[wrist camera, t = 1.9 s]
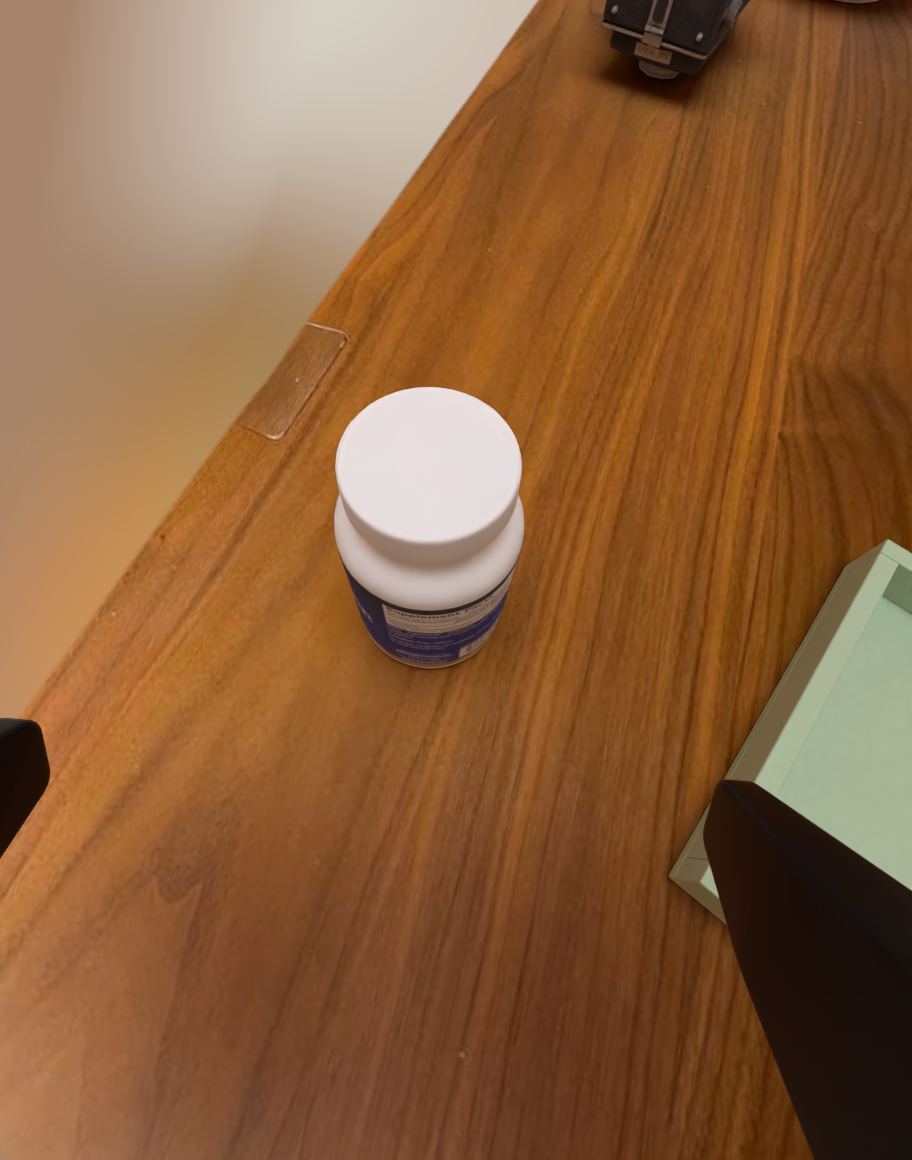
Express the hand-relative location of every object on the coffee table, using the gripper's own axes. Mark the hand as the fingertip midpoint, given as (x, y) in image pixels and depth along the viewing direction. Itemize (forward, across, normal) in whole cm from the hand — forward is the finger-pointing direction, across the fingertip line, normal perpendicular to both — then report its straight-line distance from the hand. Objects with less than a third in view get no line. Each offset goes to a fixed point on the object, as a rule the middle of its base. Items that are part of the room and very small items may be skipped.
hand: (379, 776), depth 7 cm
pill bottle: (+15, 0, +4) cm, 16 cm away
